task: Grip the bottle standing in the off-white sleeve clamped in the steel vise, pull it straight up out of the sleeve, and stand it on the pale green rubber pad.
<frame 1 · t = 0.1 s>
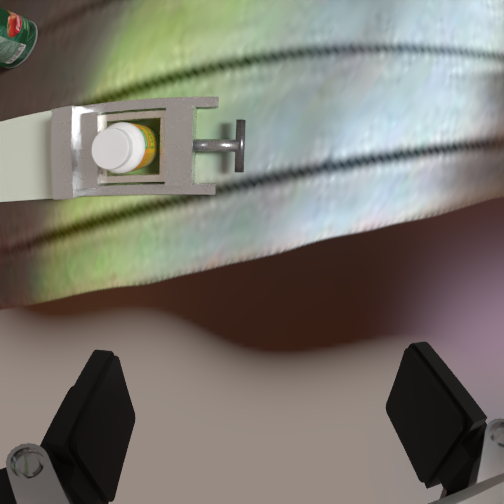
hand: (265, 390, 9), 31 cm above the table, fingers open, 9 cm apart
supplement bottle: (139, 146, 36), resting in vise
pad: (24, 157, 35), on the table
canned tomato: (18, 44, 29), on the table
vise: (138, 146, 36), on the table
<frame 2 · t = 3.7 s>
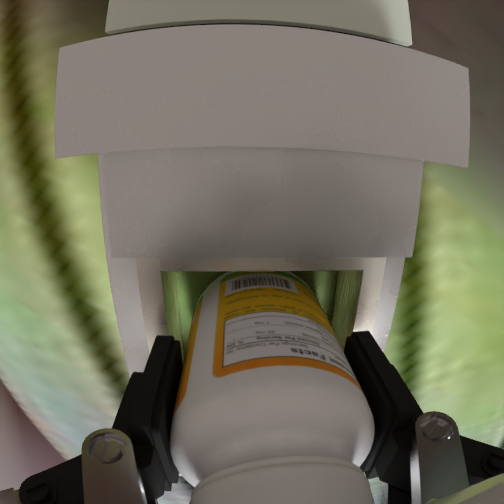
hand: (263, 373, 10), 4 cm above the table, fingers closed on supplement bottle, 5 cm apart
supplement bottle: (257, 318, 14), resting in vise, touching gripper
vise: (257, 320, 14), on the table
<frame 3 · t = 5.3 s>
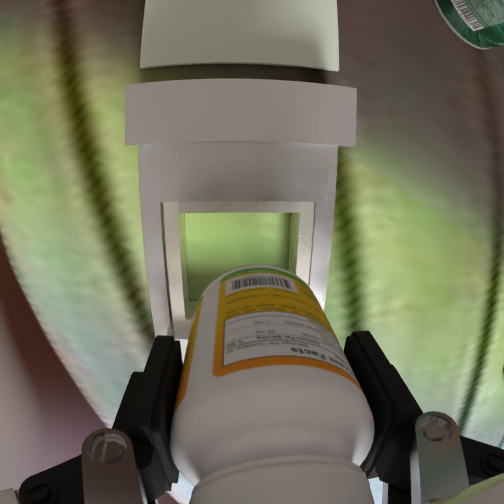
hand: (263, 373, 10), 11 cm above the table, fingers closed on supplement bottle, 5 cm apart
supplement bottle: (257, 317, 14), point 7 cm above the table, touching gripper
canned tomato: (465, 8, 15), on the table
vise: (237, 254, 21), on the table
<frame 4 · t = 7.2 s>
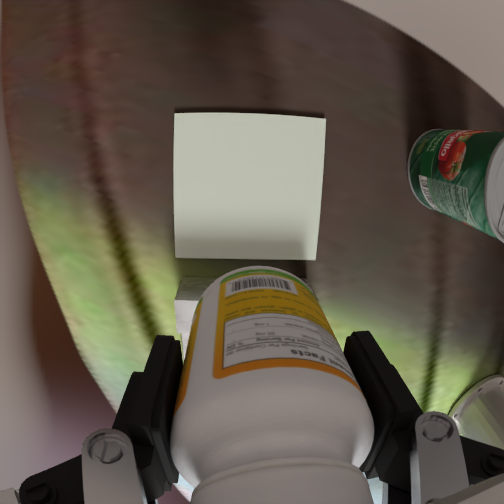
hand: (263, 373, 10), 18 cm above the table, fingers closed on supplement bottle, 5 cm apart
supplement bottle: (257, 318, 14), point 14 cm above the table, touching gripper
pad: (248, 187, 26), on the table
canned tomato: (438, 169, 26), on the table
vise: (242, 367, 31), on the table
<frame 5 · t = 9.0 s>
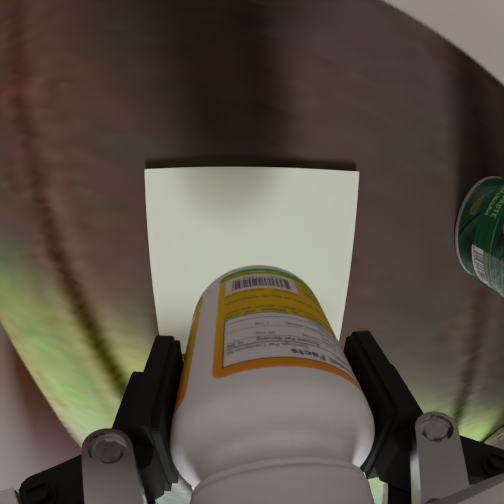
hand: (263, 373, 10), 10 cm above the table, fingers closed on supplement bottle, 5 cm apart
supplement bottle: (257, 318, 14), point 6 cm above the table, touching gripper
pad: (251, 268, 19), on the table
canned tomato: (488, 226, 19), on the table
when the fingers open (5 cm above the table, at t = 10.7 s): supplement bottle drops 1 cm, resting on pad.
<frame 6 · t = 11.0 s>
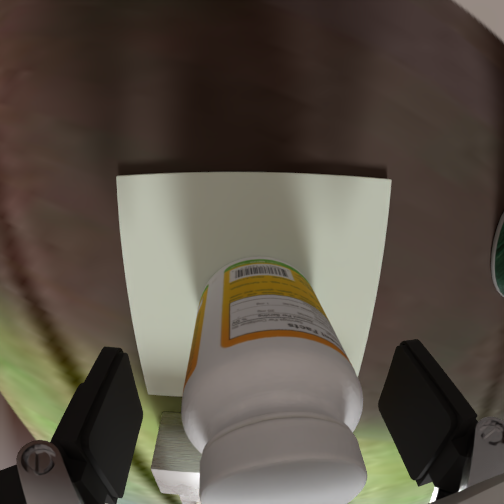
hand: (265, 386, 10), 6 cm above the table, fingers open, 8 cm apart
supplement bottle: (257, 306, 15), resting on pad
pad: (254, 301, 15), on the table
vise: (250, 487, 21), on the table
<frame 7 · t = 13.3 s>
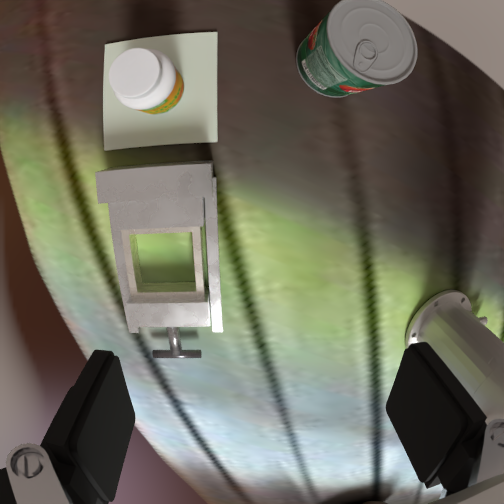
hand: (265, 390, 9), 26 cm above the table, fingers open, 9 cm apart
supplement bottle: (159, 90, 28), resting on pad
pad: (158, 89, 29), on the table
canned tomato: (330, 64, 29), on the table
vise: (166, 255, 35), on the table
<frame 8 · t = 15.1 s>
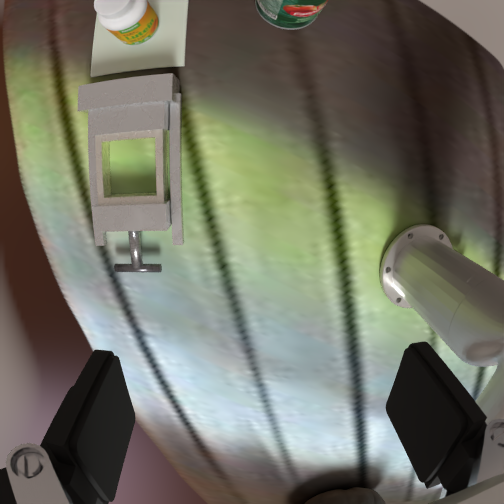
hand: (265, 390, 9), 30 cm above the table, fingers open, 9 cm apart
gourd: (332, 499, 64), on the table
supplement bottle: (139, 28, 30), resting on pad
pad: (139, 27, 30), on the table
canned tomato: (287, 4, 30), on the table
vise: (134, 166, 36), on the table
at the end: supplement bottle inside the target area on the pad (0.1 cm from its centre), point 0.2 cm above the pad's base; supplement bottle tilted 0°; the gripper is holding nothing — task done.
